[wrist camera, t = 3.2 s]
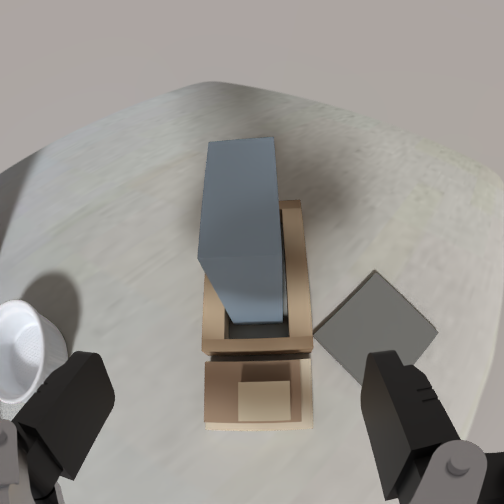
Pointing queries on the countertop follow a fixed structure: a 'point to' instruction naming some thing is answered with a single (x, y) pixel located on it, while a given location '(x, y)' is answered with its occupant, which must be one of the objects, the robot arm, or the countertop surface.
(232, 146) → the blue-grey rectangular block
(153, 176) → the countertop surface
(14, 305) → the ramekin
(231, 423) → the rack
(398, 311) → the pad
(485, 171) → the countertop surface
